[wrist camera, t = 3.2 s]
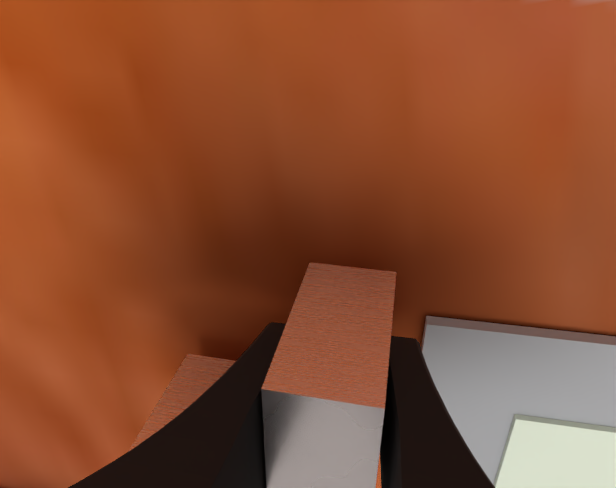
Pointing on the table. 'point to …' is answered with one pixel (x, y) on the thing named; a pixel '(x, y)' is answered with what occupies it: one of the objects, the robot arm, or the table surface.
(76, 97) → the table surface
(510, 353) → the arena board
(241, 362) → the robot arm
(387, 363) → the aluminium bracket
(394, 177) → the table surface
